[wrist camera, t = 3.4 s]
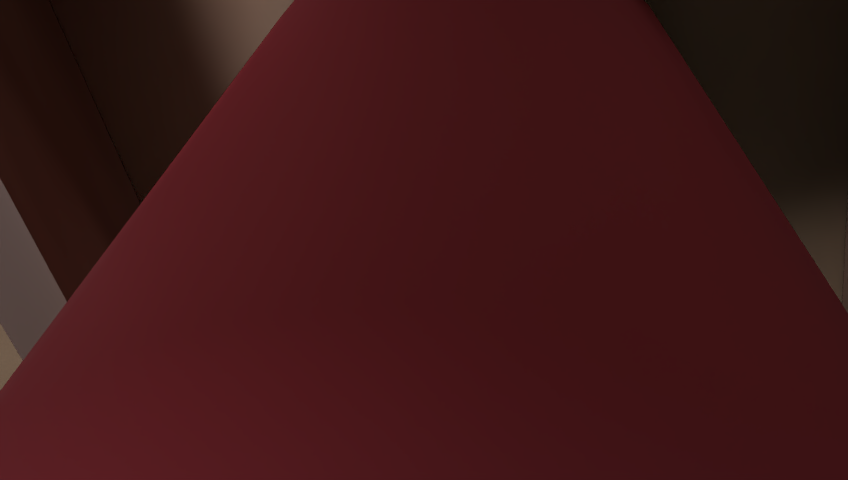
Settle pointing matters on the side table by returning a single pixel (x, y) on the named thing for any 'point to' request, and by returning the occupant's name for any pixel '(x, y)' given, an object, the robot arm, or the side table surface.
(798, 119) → the side table surface
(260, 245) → the beer can
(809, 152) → the side table surface
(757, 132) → the side table surface
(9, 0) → the tray
